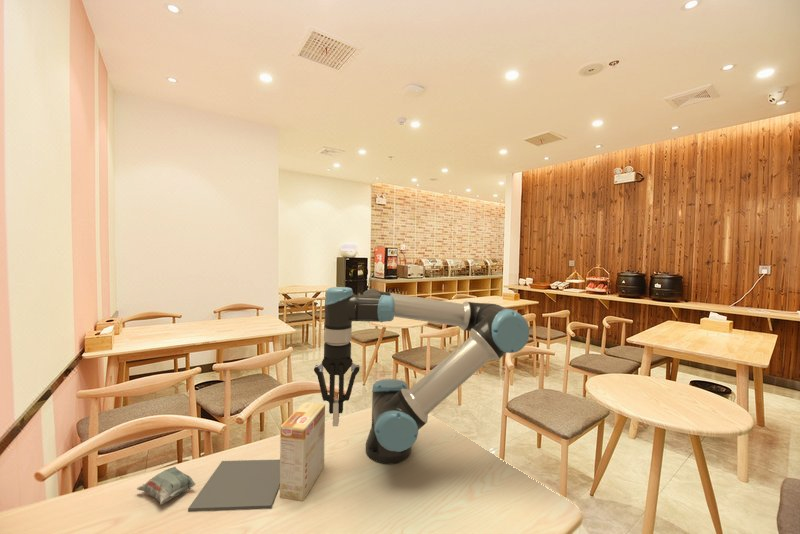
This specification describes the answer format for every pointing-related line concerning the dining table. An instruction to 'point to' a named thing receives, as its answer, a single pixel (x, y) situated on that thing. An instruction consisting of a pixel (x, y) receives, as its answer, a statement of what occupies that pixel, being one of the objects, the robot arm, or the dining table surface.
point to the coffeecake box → (301, 450)
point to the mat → (240, 486)
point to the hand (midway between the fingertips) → (335, 423)
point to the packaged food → (167, 485)
